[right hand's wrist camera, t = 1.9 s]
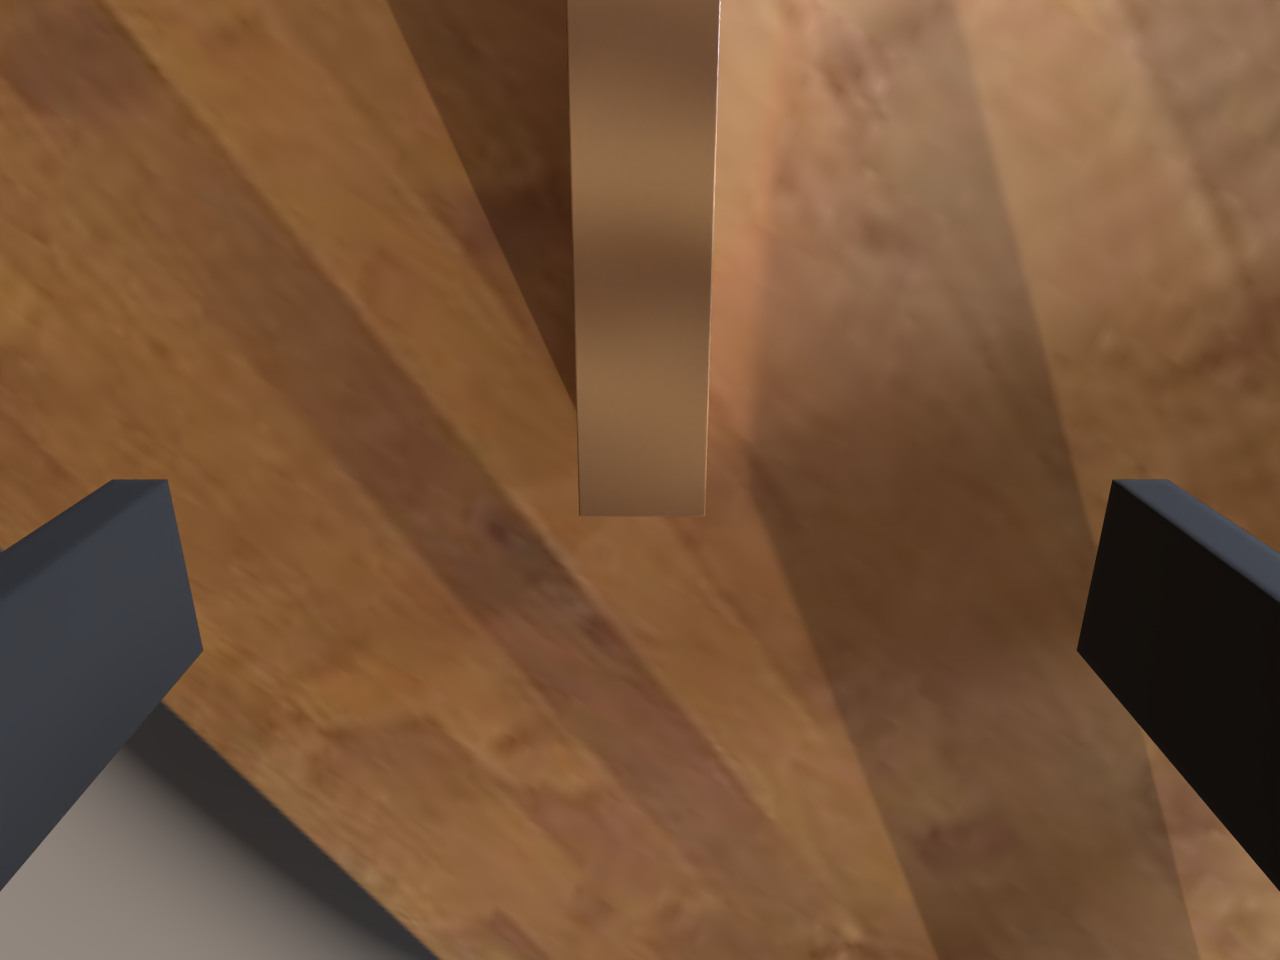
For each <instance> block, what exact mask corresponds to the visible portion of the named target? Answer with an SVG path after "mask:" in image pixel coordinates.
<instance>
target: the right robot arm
mask: <svg viewBox="0 0 1280 960" xmlns="http://www.w3.org/2000/svg"><path fill="white" fill-rule="evenodd" d="M202 651H203V647H202V642H201V637H200V633H199V628H198V623H197V618H196V614H195V609H194V604H193V599H192V595H191V590H190V585H189V580H188V575H187V571H186V566H185V561H184V556H183V552H182V547H181V542H180V537H179V532H178V528H177V523H176V518H175V513H174V509H173V504H172V499H171V494H170V489H169V485H168V480H111V481H109V482H108V483H106V484H105V485H103V486H102V487H100V488H99V489H97V490H96V491H94V492H93V493H91V494H90V495H88V496H87V497H85V498H84V499H82V500H81V501H79V502H78V503H76V504H75V505H73V506H72V507H70V508H68V509H67V510H65V511H64V512H62V513H61V514H59V515H58V516H56V517H55V518H53V519H52V520H50V521H49V522H47V523H46V524H44V525H43V526H41V527H40V528H38V529H37V530H35V531H34V532H32V533H31V534H29V535H27V536H26V537H24V538H23V539H21V540H20V541H18V542H17V543H15V544H14V545H12V546H11V547H9V548H8V549H6V550H5V551H3V552H2V553H0V891H1V890H2V889H3V888H4V886H5V885H6V884H7V883H8V881H9V880H10V879H11V878H12V877H13V876H14V874H15V873H16V872H17V871H18V870H19V869H20V867H21V866H22V865H23V864H24V863H25V861H26V860H27V859H28V858H29V857H30V855H31V854H32V853H33V852H34V851H35V850H36V848H37V847H38V846H39V845H40V844H41V842H42V841H43V840H44V839H45V838H46V836H47V835H48V834H49V833H50V832H51V830H52V829H53V828H54V827H55V826H56V825H57V823H58V822H59V821H60V820H61V819H62V817H63V816H64V815H65V814H66V813H67V812H68V810H69V809H70V808H71V807H72V806H73V804H74V803H75V802H76V801H77V800H78V798H79V797H80V796H81V795H82V794H83V793H84V791H85V790H86V789H87V788H88V787H89V785H90V784H91V783H92V782H93V781H94V780H95V778H96V777H97V776H98V775H99V774H100V772H101V771H102V770H103V769H104V768H105V766H106V765H107V764H108V763H109V762H110V761H111V759H112V758H113V757H114V756H115V754H116V753H117V752H118V751H119V750H120V749H121V747H122V746H123V745H124V744H125V743H126V742H127V740H128V739H129V738H130V737H131V736H132V734H133V733H134V732H135V731H136V730H137V728H138V727H139V726H140V725H141V724H142V723H143V721H144V720H145V719H146V718H147V717H148V715H149V714H150V713H151V712H152V711H153V709H154V708H155V707H156V706H157V705H158V704H159V702H160V701H161V700H162V699H163V698H164V696H165V695H166V694H167V693H168V692H169V690H170V689H171V688H172V687H173V686H174V685H175V683H176V682H177V681H178V680H179V679H180V677H181V676H182V675H183V674H184V673H185V671H186V670H187V669H188V668H189V667H190V666H191V664H192V663H193V662H194V661H195V660H196V658H197V657H198V656H199V655H200V654H201V653H202ZM1077 651H1078V653H1079V654H1080V655H1081V656H1082V657H1083V658H1084V660H1085V661H1086V662H1087V663H1088V664H1089V666H1090V667H1091V668H1092V669H1093V670H1094V671H1095V673H1096V674H1097V675H1098V676H1099V677H1100V679H1101V680H1102V681H1103V682H1104V683H1105V685H1106V686H1107V687H1108V688H1109V689H1110V690H1111V692H1112V693H1113V694H1114V695H1115V696H1116V698H1117V699H1118V700H1119V701H1120V702H1121V704H1122V705H1123V706H1124V707H1125V708H1126V709H1127V711H1128V712H1129V713H1130V714H1131V715H1132V717H1133V718H1134V719H1135V720H1136V721H1137V723H1138V724H1139V725H1140V726H1141V727H1142V728H1143V730H1144V731H1145V732H1146V733H1147V734H1148V736H1149V737H1150V738H1151V739H1152V740H1153V742H1154V743H1155V744H1156V745H1157V746H1158V747H1159V749H1160V750H1161V751H1162V752H1163V753H1164V755H1165V756H1166V757H1167V758H1168V759H1169V761H1170V762H1171V763H1172V764H1173V765H1174V766H1175V768H1176V769H1177V770H1178V771H1179V772H1180V774H1181V775H1182V776H1183V777H1184V778H1185V780H1186V781H1187V782H1188V783H1189V784H1190V785H1191V787H1192V788H1193V789H1194V790H1195V791H1196V793H1197V794H1198V795H1199V796H1200V797H1201V798H1202V800H1203V801H1204V802H1205V803H1206V804H1207V806H1208V807H1209V808H1210V809H1211V810H1212V812H1213V813H1214V814H1215V815H1216V816H1217V817H1218V819H1219V820H1220V821H1221V822H1222V823H1223V825H1224V826H1225V827H1226V828H1227V829H1228V831H1229V832H1230V833H1231V834H1232V835H1233V836H1234V838H1235V839H1236V840H1237V841H1238V842H1239V844H1240V845H1241V846H1242V847H1243V848H1244V850H1245V851H1246V852H1247V853H1248V854H1249V855H1250V857H1251V858H1252V859H1253V860H1254V861H1255V863H1256V864H1257V865H1258V866H1259V867H1260V869H1261V870H1262V871H1263V872H1264V873H1265V874H1266V876H1267V877H1268V878H1269V879H1270V880H1271V882H1272V883H1273V884H1274V885H1275V886H1276V888H1277V889H1278V890H1279V891H1280V553H1278V552H1277V551H1275V550H1274V549H1272V548H1271V547H1269V546H1268V545H1266V544H1265V543H1263V542H1262V541H1260V540H1259V539H1257V538H1256V537H1254V536H1253V535H1251V534H1249V533H1248V532H1246V531H1245V530H1243V529H1242V528H1240V527H1239V526H1237V525H1236V524H1234V523H1233V522H1231V521H1230V520H1228V519H1227V518H1225V517H1224V516H1222V515H1221V514H1219V513H1218V512H1216V511H1215V510H1213V509H1212V508H1210V507H1208V506H1207V505H1205V504H1204V503H1202V502H1201V501H1199V500H1198V499H1196V498H1195V497H1193V496H1192V495H1190V494H1189V493H1187V492H1186V491H1184V490H1183V489H1181V488H1180V487H1178V486H1177V485H1175V484H1174V483H1172V482H1171V481H1169V480H1112V485H1111V489H1110V494H1109V499H1108V504H1107V509H1106V513H1105V518H1104V523H1103V528H1102V532H1101V537H1100V542H1099V547H1098V552H1097V556H1096V561H1095V566H1094V571H1093V575H1092V580H1091V585H1090V590H1089V595H1088V599H1087V604H1086V609H1085V614H1084V618H1083V623H1082V628H1081V633H1080V637H1079V642H1078V647H1077Z"/></svg>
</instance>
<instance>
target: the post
mask: <svg viewBox="0 0 1280 960" xmlns="http://www.w3.org/2000/svg"><path fill="white" fill-rule="evenodd" d="M720 10H721V0H566V24H567V63H568V101H569V140H570V178H571V217H572V256H573V294H574V333H575V372H576V410H577V449H578V488H579V515H580V516H705V502H706V469H707V436H708V403H709V371H710V338H711V305H712V272H713V240H714V207H715V174H716V141H717V109H718V76H719V43H720Z"/></svg>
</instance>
